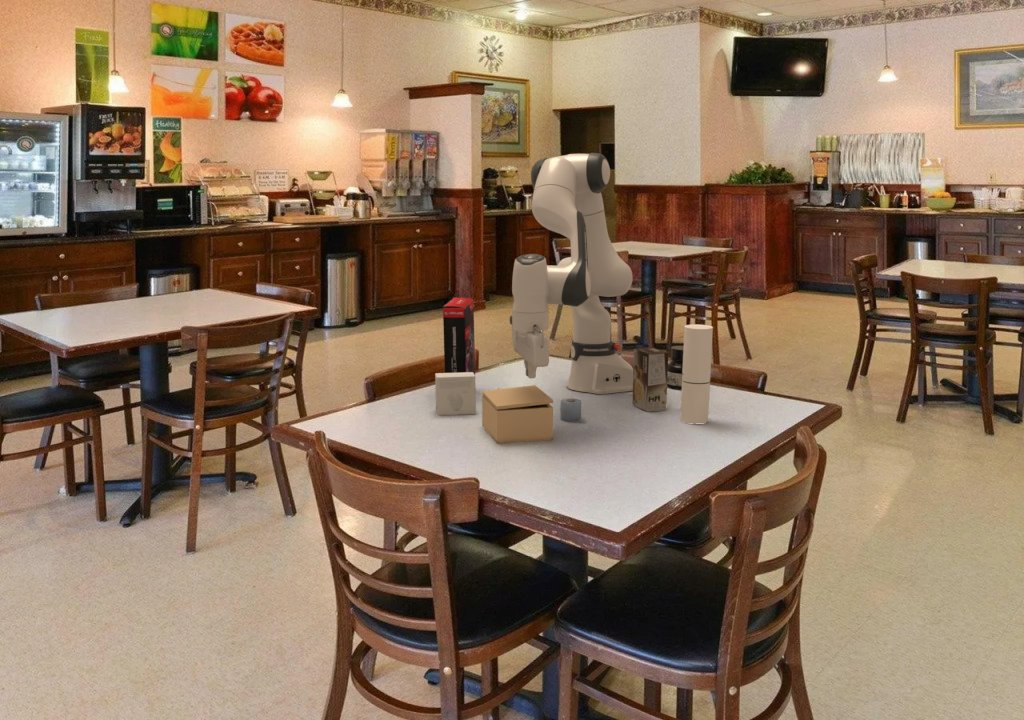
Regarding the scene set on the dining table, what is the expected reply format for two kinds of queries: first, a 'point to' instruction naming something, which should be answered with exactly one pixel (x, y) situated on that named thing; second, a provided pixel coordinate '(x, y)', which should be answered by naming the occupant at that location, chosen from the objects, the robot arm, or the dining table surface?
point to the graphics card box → (459, 336)
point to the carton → (518, 422)
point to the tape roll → (570, 410)
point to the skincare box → (455, 393)
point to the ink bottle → (675, 368)
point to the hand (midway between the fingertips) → (530, 377)
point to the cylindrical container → (696, 373)
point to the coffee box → (650, 379)
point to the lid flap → (517, 397)
